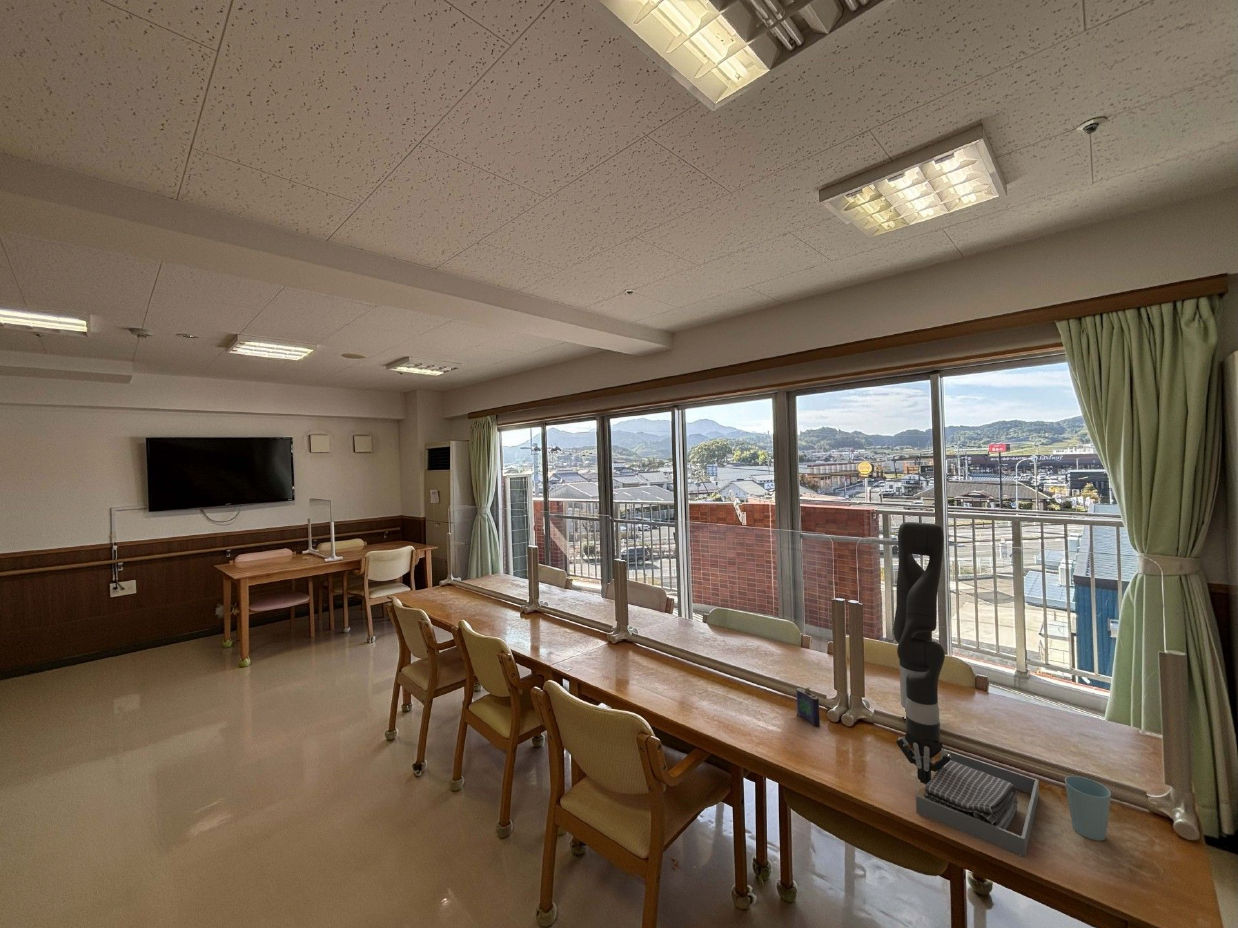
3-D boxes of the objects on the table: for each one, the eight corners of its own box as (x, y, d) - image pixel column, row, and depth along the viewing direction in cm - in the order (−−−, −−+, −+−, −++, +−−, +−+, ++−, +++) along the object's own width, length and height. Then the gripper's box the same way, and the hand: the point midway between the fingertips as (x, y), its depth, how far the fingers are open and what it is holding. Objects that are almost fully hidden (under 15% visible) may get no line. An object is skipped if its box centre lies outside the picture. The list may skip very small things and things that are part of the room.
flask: (795, 714, 169) (794, 683, 169) (801, 712, 170) (800, 681, 170) (815, 727, 161) (815, 694, 161) (822, 725, 162) (821, 692, 162)
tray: (943, 762, 140) (943, 748, 140) (1038, 795, 126) (1038, 779, 126) (916, 812, 121) (915, 795, 121) (1025, 857, 106) (1024, 839, 106)
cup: (1070, 814, 119) (1069, 771, 119) (1115, 833, 112) (1114, 787, 112) (1062, 829, 114) (1061, 784, 114) (1108, 849, 108) (1107, 801, 108)
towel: (1020, 810, 121) (1019, 778, 121) (997, 848, 110) (996, 813, 110) (949, 780, 133) (948, 751, 133) (921, 812, 121) (920, 780, 121)
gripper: (955, 719, 128) (957, 786, 128) (899, 702, 137) (901, 765, 137) (948, 730, 123) (950, 800, 123) (890, 712, 132) (892, 777, 132)
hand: (924, 782), depth 130 cm, fingers closed
